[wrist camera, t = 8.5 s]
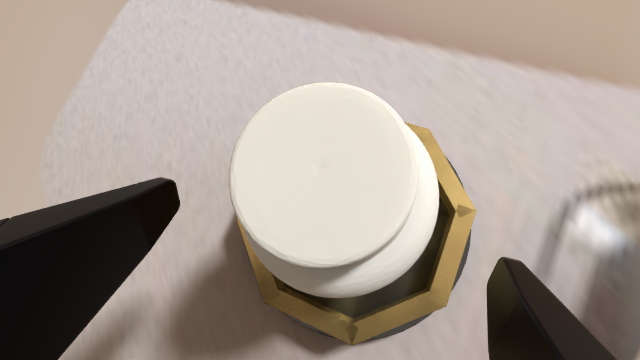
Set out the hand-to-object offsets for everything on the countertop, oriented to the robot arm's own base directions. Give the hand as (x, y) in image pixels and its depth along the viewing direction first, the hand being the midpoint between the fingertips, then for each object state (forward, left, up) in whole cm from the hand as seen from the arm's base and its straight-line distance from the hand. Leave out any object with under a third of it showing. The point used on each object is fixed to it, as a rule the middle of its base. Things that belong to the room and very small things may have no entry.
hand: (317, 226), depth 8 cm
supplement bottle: (+1, -1, -8) cm, 8 cm away
